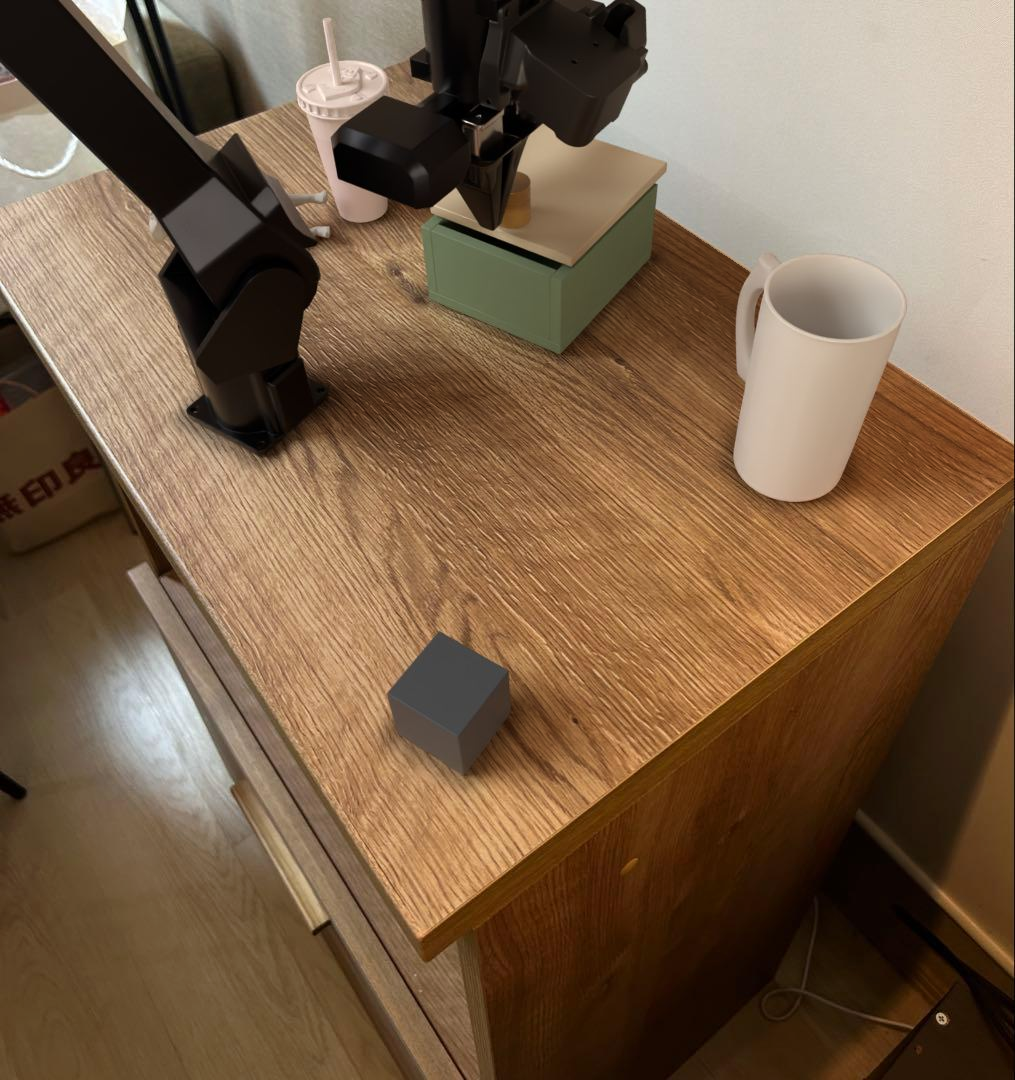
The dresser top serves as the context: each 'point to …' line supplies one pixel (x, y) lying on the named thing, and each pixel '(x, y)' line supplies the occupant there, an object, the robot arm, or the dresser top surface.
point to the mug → (809, 368)
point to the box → (535, 276)
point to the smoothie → (342, 119)
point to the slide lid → (564, 195)
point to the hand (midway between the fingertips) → (490, 226)
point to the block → (450, 702)
